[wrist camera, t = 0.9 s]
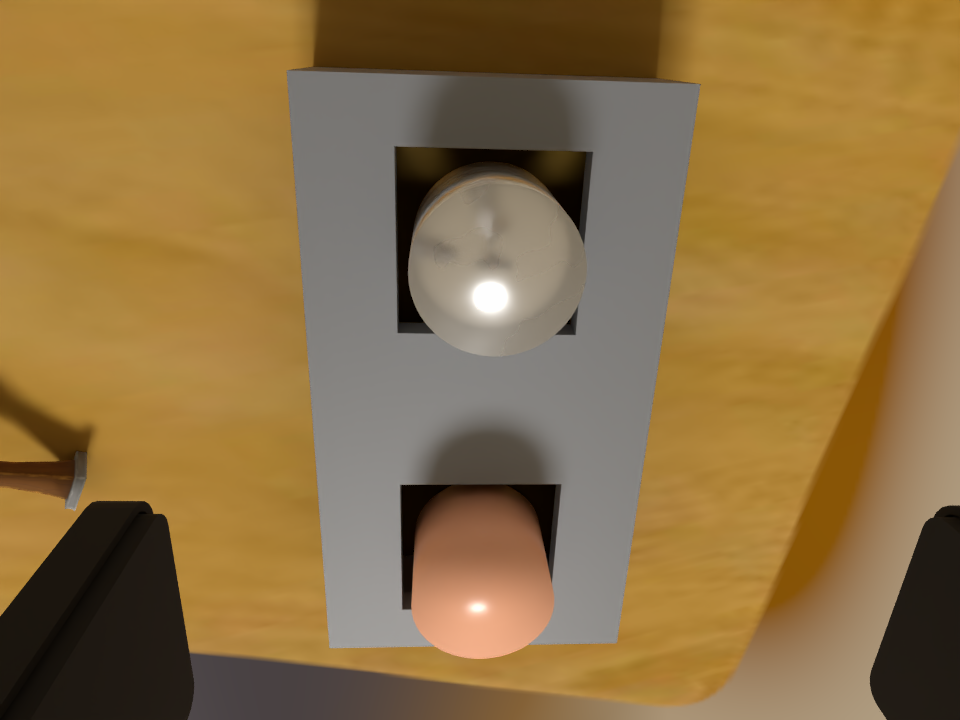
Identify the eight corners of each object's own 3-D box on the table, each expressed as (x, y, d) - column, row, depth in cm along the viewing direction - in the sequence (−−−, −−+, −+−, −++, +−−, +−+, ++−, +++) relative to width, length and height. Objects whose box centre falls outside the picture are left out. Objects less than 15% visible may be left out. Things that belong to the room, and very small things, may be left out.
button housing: (313, 66, 24) (286, 70, 20) (656, 78, 25) (700, 84, 20) (343, 573, 33) (329, 648, 29) (594, 570, 34) (616, 643, 29)
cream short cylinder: (412, 159, 22) (407, 181, 18) (569, 163, 22) (595, 185, 19) (413, 309, 24) (408, 355, 20) (557, 310, 24) (578, 357, 21)
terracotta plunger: (414, 480, 27) (410, 548, 23) (543, 480, 27) (559, 547, 23) (415, 582, 29) (411, 660, 25) (535, 581, 29) (549, 657, 25)
